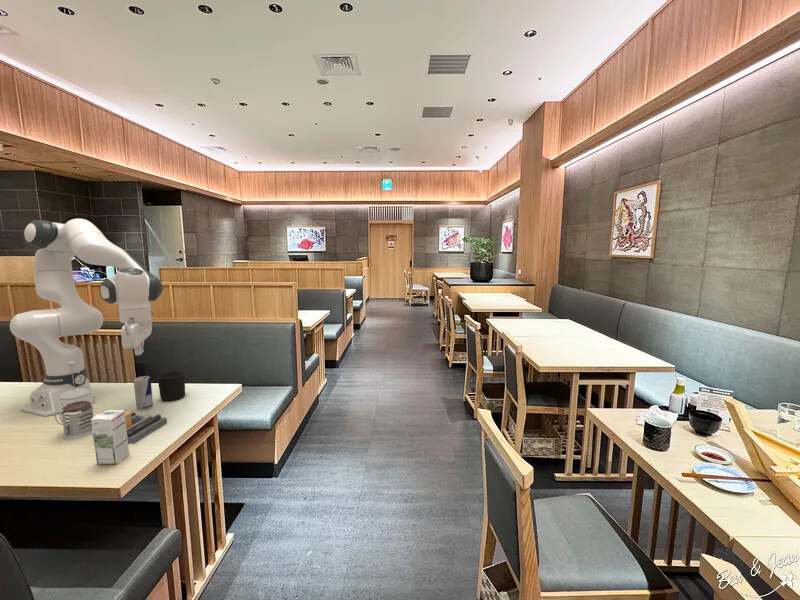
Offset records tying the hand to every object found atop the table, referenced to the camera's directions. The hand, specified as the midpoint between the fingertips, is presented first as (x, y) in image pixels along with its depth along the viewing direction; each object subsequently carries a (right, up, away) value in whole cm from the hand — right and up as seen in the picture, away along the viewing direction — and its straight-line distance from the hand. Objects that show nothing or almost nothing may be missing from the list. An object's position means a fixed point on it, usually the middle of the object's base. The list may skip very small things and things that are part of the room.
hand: (139, 353), depth 126 cm
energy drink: (-9, -24, +15) cm, 29 cm away
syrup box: (+6, -29, -19) cm, 35 cm away
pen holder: (-3, -22, +24) cm, 33 cm away
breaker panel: (0, -26, -3) cm, 26 cm away
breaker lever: (0, -24, -7) cm, 25 cm away
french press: (-17, -26, -5) cm, 32 cm away
